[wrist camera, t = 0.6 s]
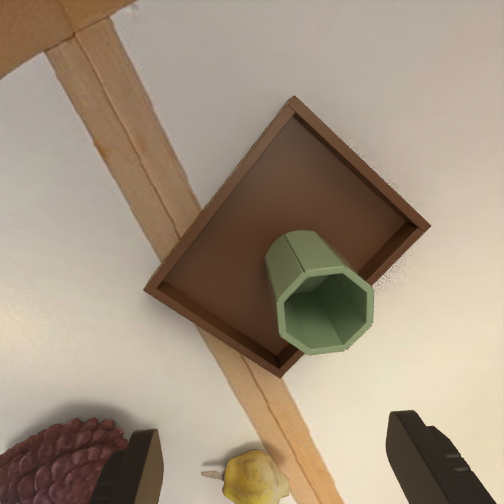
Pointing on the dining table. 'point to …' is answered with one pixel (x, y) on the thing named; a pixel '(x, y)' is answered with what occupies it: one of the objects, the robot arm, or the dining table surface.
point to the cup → (316, 294)
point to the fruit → (252, 479)
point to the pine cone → (59, 463)
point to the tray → (281, 232)
